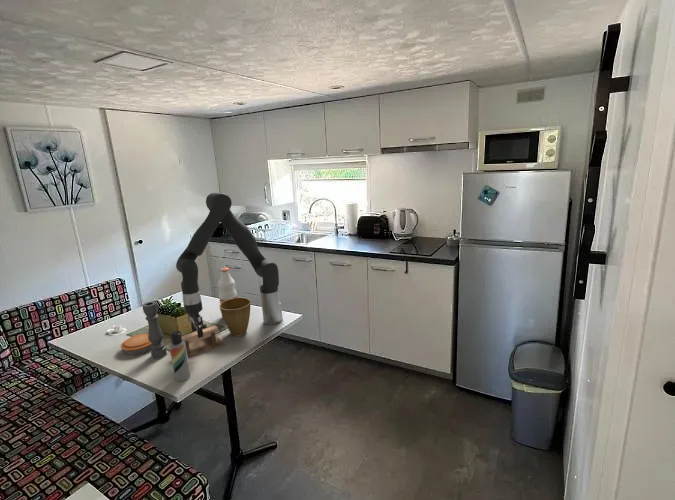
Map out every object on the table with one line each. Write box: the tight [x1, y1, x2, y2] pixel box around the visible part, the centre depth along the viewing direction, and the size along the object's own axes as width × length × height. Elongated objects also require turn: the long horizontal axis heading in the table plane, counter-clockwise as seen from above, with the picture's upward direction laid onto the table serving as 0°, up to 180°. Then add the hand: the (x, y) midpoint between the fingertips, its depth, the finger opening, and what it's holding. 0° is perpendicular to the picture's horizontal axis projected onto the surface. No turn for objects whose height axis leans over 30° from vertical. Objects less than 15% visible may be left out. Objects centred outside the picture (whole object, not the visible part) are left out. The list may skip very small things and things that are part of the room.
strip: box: [181, 325, 220, 343], centre depth 165 cm, size 18×4×3 cm, turn 129°
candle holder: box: [141, 301, 168, 360], centre depth 160 cm, size 6×6×25 cm
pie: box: [120, 332, 152, 355], centre depth 170 cm, size 15×16×5 cm
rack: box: [185, 323, 225, 358], centre depth 168 cm, size 20×14×7 cm
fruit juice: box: [217, 267, 238, 319], centre depth 197 cm, size 9×9×28 cm
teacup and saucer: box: [106, 323, 127, 336], centre depth 189 cm, size 9×8×4 cm
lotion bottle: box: [169, 330, 192, 382], centre depth 142 cm, size 6×6×20 cm
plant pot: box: [219, 297, 251, 337], centre depth 178 cm, size 15×15×16 cm
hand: (197, 334), depth 165 cm, fingers open, 8 cm apart
